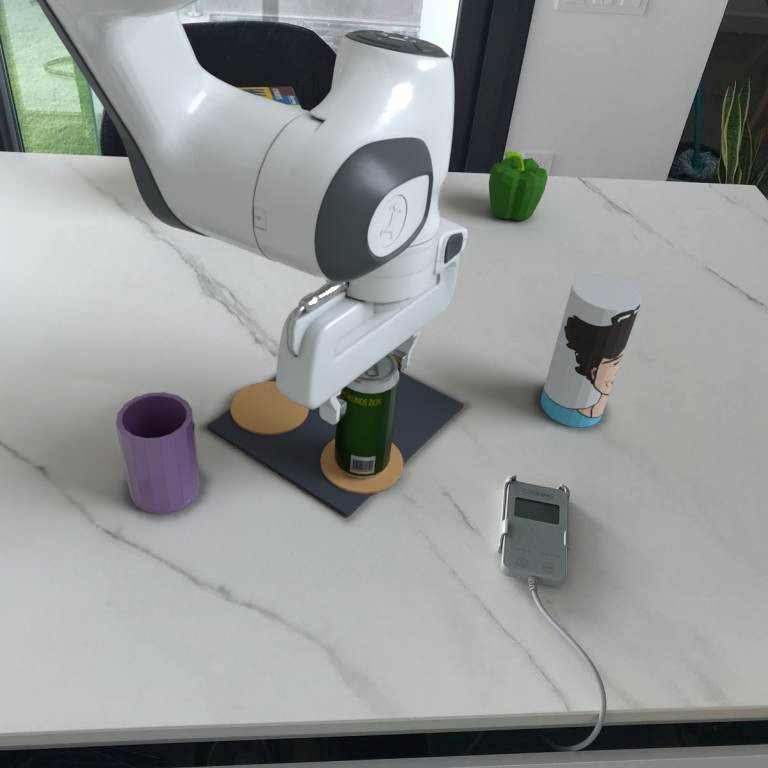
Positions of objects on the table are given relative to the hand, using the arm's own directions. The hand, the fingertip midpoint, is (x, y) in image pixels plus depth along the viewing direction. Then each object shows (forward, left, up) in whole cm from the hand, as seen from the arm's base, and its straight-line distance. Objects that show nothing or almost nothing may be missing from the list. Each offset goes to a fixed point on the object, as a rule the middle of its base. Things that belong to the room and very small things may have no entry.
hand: (366, 391), depth 69 cm
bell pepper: (+57, +15, -10) cm, 60 cm away
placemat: (+4, +6, -10) cm, 12 cm away
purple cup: (-14, +12, -10) cm, 21 cm away
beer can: (0, 0, -9) cm, 9 cm away
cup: (+22, -12, -10) cm, 27 cm away
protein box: (+31, +45, -10) cm, 56 cm away
